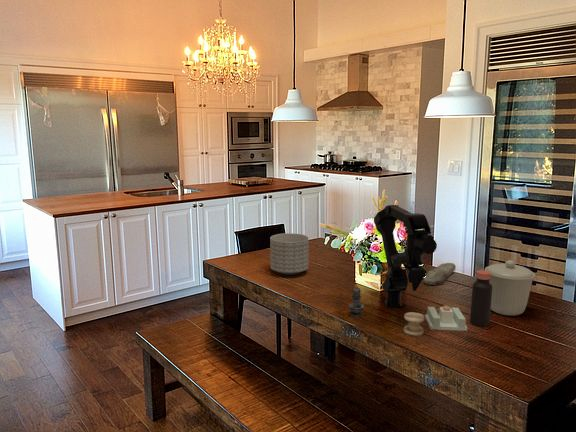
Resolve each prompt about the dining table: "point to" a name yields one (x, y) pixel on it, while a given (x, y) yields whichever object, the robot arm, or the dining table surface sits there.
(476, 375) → the dining table surface
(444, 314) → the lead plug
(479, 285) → the bottle
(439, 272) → the long grey stone
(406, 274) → the robot arm
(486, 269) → the canister
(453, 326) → the notch board
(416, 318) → the bobbin
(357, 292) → the flange bolt
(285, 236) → the planter
